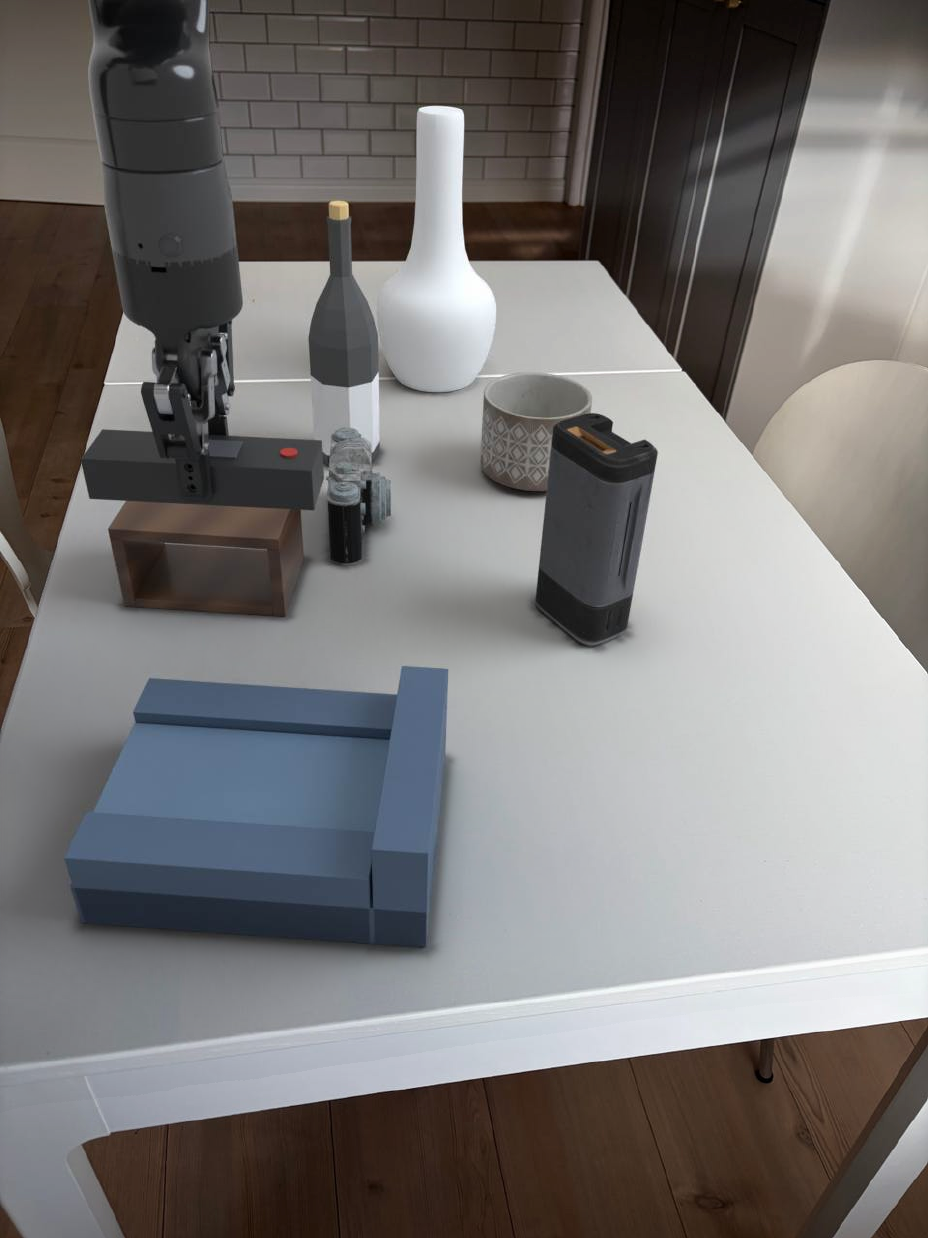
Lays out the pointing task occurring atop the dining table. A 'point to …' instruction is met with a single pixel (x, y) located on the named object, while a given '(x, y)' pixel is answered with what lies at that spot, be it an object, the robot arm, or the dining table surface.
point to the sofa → (271, 813)
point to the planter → (526, 425)
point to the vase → (437, 273)
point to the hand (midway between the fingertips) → (207, 479)
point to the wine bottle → (343, 347)
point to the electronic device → (593, 527)
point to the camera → (353, 495)
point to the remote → (237, 463)
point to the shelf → (207, 557)
